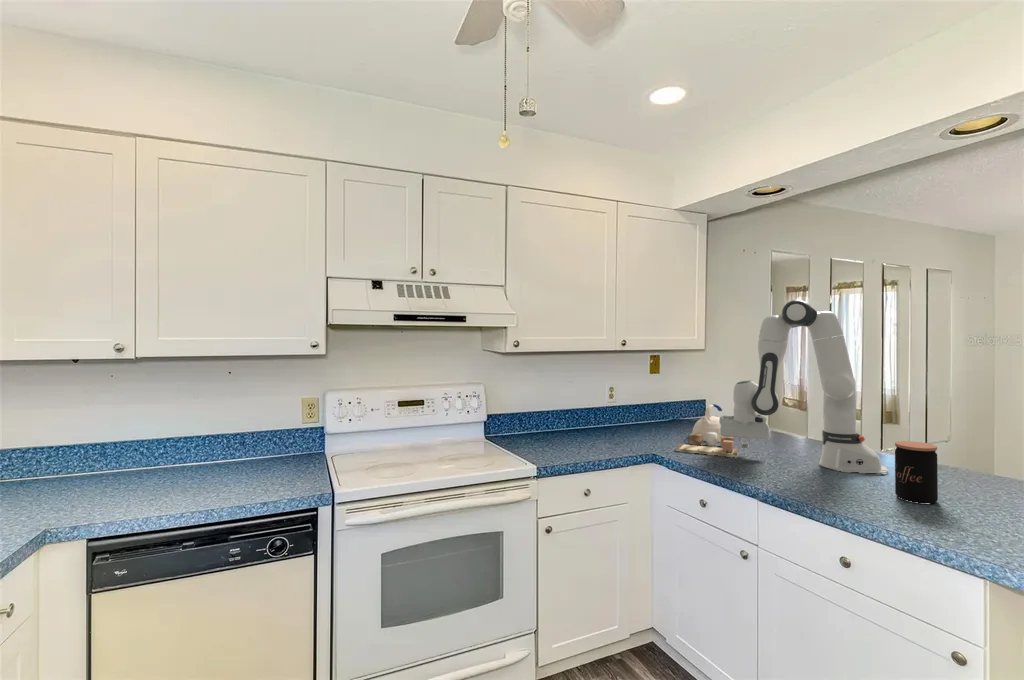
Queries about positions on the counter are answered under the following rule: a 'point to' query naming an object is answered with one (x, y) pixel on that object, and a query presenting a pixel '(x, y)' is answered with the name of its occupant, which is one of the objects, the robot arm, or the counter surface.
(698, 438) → the walnut block
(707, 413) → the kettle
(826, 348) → the robot arm
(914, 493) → the coffee jar
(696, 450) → the counter board
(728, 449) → the counter marker
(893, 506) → the counter surface
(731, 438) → the walnut block
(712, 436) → the grey cylinder
